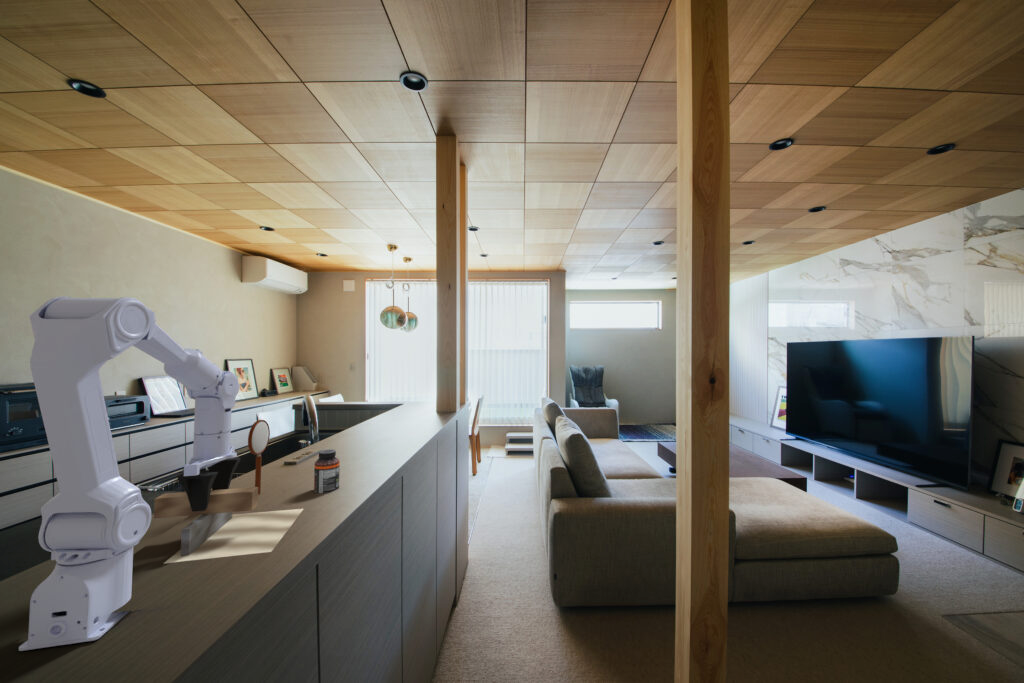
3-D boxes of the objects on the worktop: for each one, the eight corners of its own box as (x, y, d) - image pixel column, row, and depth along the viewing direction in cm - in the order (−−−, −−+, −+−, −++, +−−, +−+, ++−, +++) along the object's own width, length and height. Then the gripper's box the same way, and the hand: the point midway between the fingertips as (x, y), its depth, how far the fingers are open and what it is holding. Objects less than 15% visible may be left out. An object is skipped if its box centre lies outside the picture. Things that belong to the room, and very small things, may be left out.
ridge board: (270, 560, 67) (271, 525, 68) (163, 572, 64) (164, 535, 64) (303, 515, 87) (304, 488, 87) (222, 522, 83) (223, 494, 83)
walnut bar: (153, 518, 71) (154, 498, 71) (163, 512, 73) (164, 493, 74) (251, 510, 74) (252, 491, 75) (257, 505, 77) (258, 486, 77)
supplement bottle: (314, 492, 101) (315, 449, 102) (338, 489, 104) (339, 447, 104) (313, 500, 96) (314, 454, 96) (339, 496, 98) (340, 452, 99)
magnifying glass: (250, 506, 92) (253, 422, 93) (243, 506, 92) (245, 422, 93) (270, 493, 100) (272, 417, 101) (263, 494, 100) (265, 417, 101)
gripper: (217, 438, 69) (214, 515, 68) (251, 424, 83) (249, 488, 82) (171, 440, 67) (167, 519, 66) (213, 426, 81) (211, 491, 80)
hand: (210, 502), depth 74 cm, fingers open, 7 cm apart
